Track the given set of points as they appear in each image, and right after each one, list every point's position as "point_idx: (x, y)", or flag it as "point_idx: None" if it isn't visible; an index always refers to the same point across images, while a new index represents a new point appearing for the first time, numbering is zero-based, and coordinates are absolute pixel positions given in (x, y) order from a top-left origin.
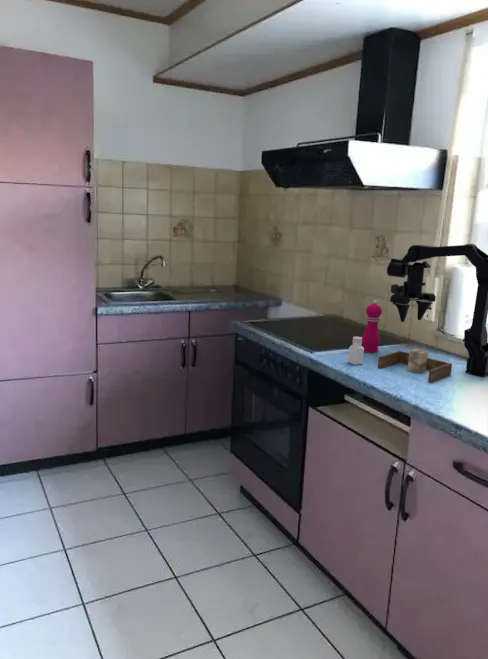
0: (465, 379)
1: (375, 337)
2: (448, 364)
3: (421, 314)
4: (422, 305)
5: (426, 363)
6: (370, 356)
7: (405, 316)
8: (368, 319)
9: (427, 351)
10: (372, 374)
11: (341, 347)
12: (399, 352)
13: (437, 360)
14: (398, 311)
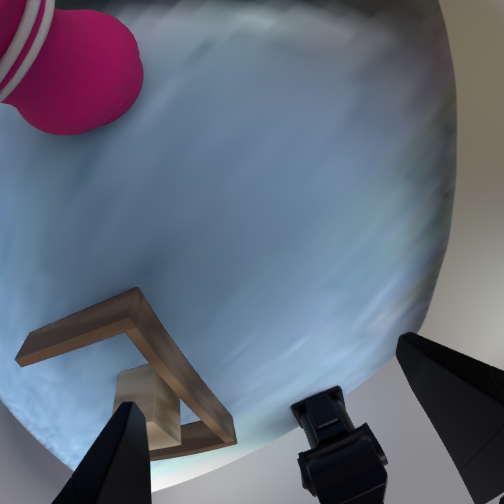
0: (243, 435)
1: (53, 130)
2: (219, 447)
3: (427, 402)
4: (491, 460)
5: (178, 408)
6: (47, 189)
7: (141, 483)
8: None
9: (179, 443)
10: (10, 369)
11: None
12: (115, 334)
13: (213, 426)
14: (61, 490)
